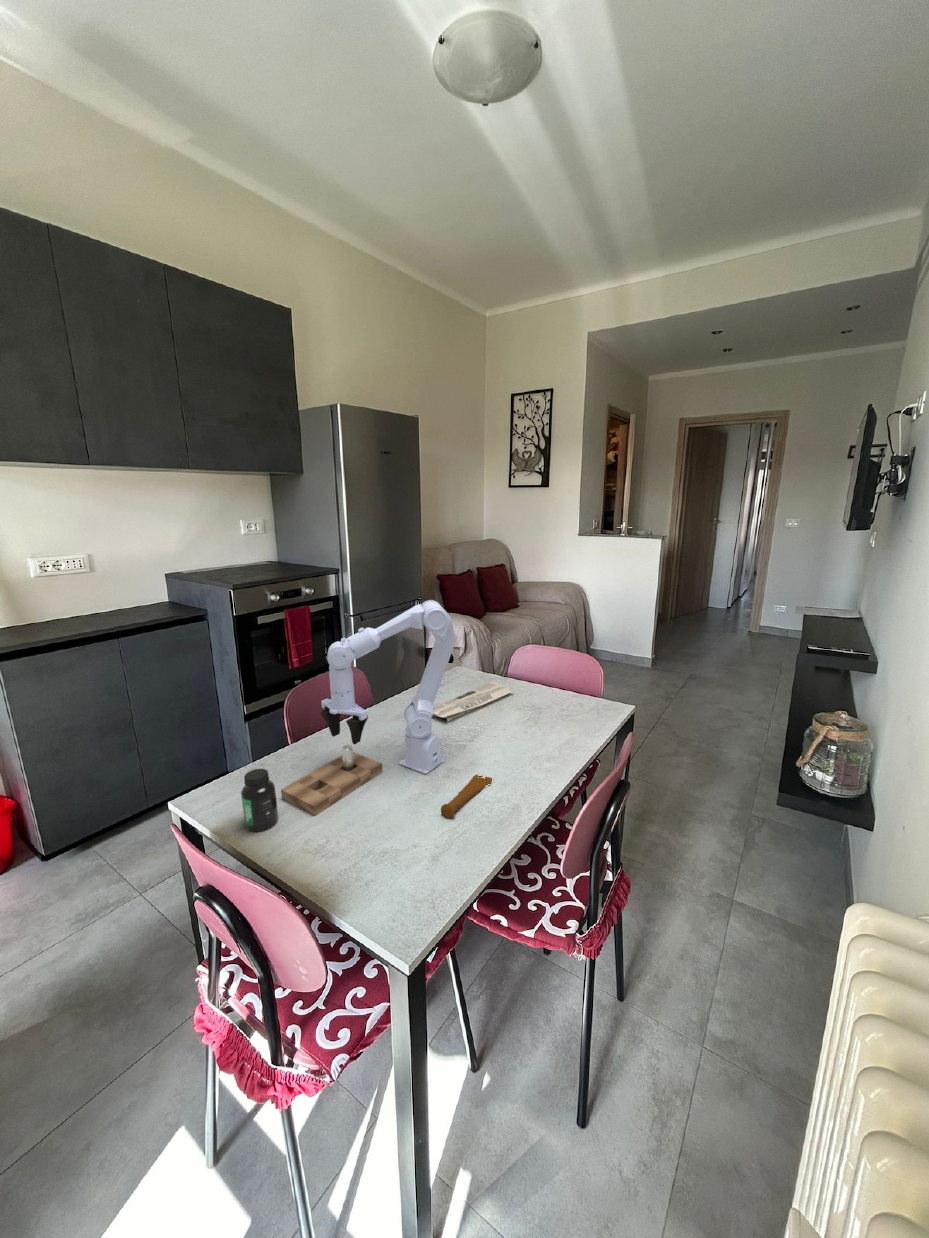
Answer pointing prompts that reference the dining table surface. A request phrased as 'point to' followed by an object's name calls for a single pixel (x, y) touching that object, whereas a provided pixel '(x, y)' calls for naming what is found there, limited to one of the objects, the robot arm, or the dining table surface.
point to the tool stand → (330, 783)
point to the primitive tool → (465, 795)
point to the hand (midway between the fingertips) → (346, 738)
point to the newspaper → (470, 701)
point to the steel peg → (347, 758)
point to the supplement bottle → (259, 801)
